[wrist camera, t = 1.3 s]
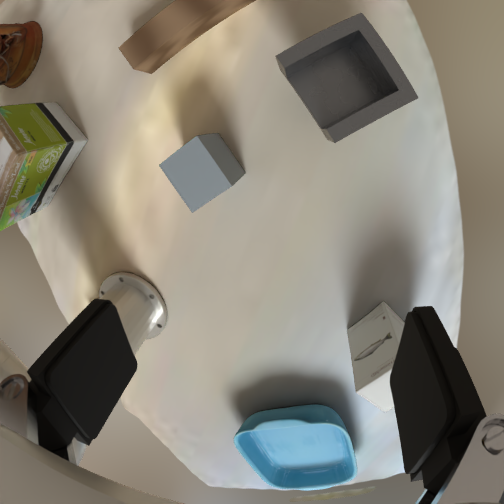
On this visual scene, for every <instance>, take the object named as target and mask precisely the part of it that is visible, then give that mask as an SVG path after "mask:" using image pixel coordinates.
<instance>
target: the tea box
mask: <svg viewBox="0 0 504 504" xmlns="http://www.w3.org/2000/svg"><path fill="white" fill-rule="evenodd" d="M87 141H88V139H87V138H86V137H85V135H84V134H83V133H82V132H81V131H80V130H79V128H78V127H77V126H76V125H75V124H74V123H73V121H72V120H71V119H70V118H69V117H68V115H67V114H66V113H65V112H64V110H63V109H62V108H61V107H60V106H59V105H58V104H57V103H56V102H54V103H32V104H20V105H9V106H1V107H0V231H1V230H3V229H5V228H6V227H8V226H10V225H12V224H14V223H16V222H18V221H20V220H21V219H24V218H26V217H28V216H29V215H31V214H33V213H35V212H37V211H40V210H42V209H43V208H45V207H47V206H48V205H49V203H50V201H51V200H52V198H53V196H54V194H55V192H56V191H57V189H58V187H59V186H60V184H61V182H62V180H63V179H64V177H65V175H66V174H67V172H68V171H69V169H70V167H71V166H72V164H73V162H74V161H75V159H76V158H77V156H78V155H79V153H80V152H81V150H82V148H83V147H84V145H85V144H86V142H87Z"/></svg>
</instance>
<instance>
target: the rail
mask: <svg viewBox="0 0 504 504" xmlns="http://www.w3.org/2000/svg"><path fill="white" fill-rule="evenodd" d="M254 1H256V0H175V1H174V2H173V3H171V4H170V5H169V6H167V7H166V8H165V9H163V10H162V11H161V12H159V13H158V14H157V15H156V16H154V17H153V18H152V19H151V20H149V21H148V22H147V23H146V24H145V25H143V26H142V27H141V28H140V29H139V30H138V31H137V32H135V33H134V34H133V35H132V36H131V37H130V38H129V39H128V40H126V41H125V42H124V43H123V44H122V45H121V46H120V47H119V50H120V51H121V52H122V54H123V55H124V57H125V58H126V59H127V61H128V62H129V64H130V65H131V66H132V68H133V69H135V70H139V71H143V72H146V73H150V74H152V73H153V72H155V71H156V70H157V69H158V68H159V67H160V66H162V65H163V64H164V63H165V62H166V61H168V60H169V59H170V58H171V57H173V56H174V55H175V54H176V53H178V52H179V51H180V50H182V49H183V48H184V47H186V46H187V45H188V44H190V43H191V42H192V41H194V40H195V39H196V38H198V37H199V36H201V35H202V34H203V33H205V32H206V31H208V30H209V29H211V28H212V27H214V26H215V25H217V24H218V23H220V22H221V21H223V20H224V19H226V18H227V17H229V16H230V15H232V14H234V13H235V12H237V11H238V10H240V9H242V8H243V7H245V6H247V5H249V4H250V3H252V2H254Z"/></svg>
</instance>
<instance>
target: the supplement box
mask: <svg viewBox="0 0 504 504" xmlns="http://www.w3.org/2000/svg"><path fill="white" fill-rule="evenodd" d="M404 324H405V323H404V322H403V320H402V319H401V318H400V317H399V316H398V315H397V314H396V313H395V312H394V311H393V310H392V309H391V308H390V307H389V306H388V305H387V304H386V303H385V302H384V301H383V302H382V303H381V304H380V305H379V306H377V307H376V308H375V309H374V310H373V311H372V312H370V313H369V314H368V315H367V316H365V317H364V318H363V319H361V320H360V321H359V322H357V323H356V324H355V325H353V326H352V327H350V328H349V329H348V330H347V334H348V340H349V346H350V353H351V359H352V366H353V374H354V382H355V389H356V393H357V394H359V395H360V396H362V397H363V398H365V399H366V400H368V401H369V402H371V403H372V404H374V405H375V406H376V407H378V408H379V409H380V410H382V411H383V412H387V411H389V410H391V409H392V408H394V403H393V398H392V393H391V388H390V374H391V371H392V368H393V364H394V361H395V358H396V354H397V351H398V347H399V343H400V340H401V336H402V332H403V328H404Z"/></svg>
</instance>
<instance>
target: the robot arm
mask: <svg viewBox="0 0 504 504" xmlns="http://www.w3.org/2000/svg"><path fill="white" fill-rule="evenodd" d="M166 322H167V310H166V307H165V304H164V301H163V300H162V298H161V296H160V295H159V293H158V292H157V291H156V289H155V288H154V287H153V286H152V285H151V284H149V283H148V282H147V281H145V280H144V279H142V278H140V277H139V276H136V275H134V274H131V273H126V272H118V273H115V274H112V275H110V276H109V277H108V278H106V279H105V280H104V282H103V283H102V284H101V287H100V290H99V299H94V300H93V301H92V302H91V303H90V304H89V305H88V306H87V307H86V308H85V309H84V310H83V311H82V312H81V313H80V314H79V315H78V316H77V317H76V318H75V319H74V320H73V321H72V322H71V323H70V324H69V326H68V327H67V328H66V329H65V330H64V331H63V332H62V333H61V334H60V335H59V336H58V337H57V338H56V339H55V341H54V342H53V343H52V344H51V345H50V346H49V347H48V348H47V349H46V350H45V351H44V353H43V354H42V355H41V356H40V357H39V358H38V359H37V360H36V361H35V363H34V364H33V365H32V366H31V367H30V368H29V369H28V368H27V367H26V365H25V364H24V363H23V362H22V361H21V360H20V359H19V358H18V357H17V356H16V354H15V353H14V352H13V351H12V350H11V349H10V348H9V347H8V345H6V343H5V342H4V341H3V340H1V339H0V504H184V503H180V502H176V501H173V500H169V499H165V498H162V497H158V496H155V495H151V494H148V493H145V492H142V491H139V490H136V489H133V488H130V487H128V486H125V485H122V484H119V483H117V482H114V481H112V480H109V479H106V478H104V477H102V476H99V475H97V474H95V473H92V472H90V471H88V470H86V469H84V468H81V467H79V466H78V465H79V463H80V461H81V459H82V457H83V455H84V452H85V449H86V446H87V445H90V443H91V441H92V440H93V439H95V438H96V437H97V436H98V434H99V432H100V431H101V429H102V427H103V426H104V424H105V422H106V420H107V419H108V417H109V415H110V414H111V412H112V410H113V408H114V407H115V405H116V403H117V402H118V400H119V398H120V397H121V395H122V393H123V392H124V390H125V388H126V387H127V385H128V383H129V382H130V380H131V378H132V377H133V375H134V373H135V372H136V370H137V361H136V358H135V354H136V353H137V351H138V350H139V348H140V347H141V345H142V344H143V342H144V341H145V339H151V338H155V337H156V336H158V335H159V334H160V333H161V332H162V331H163V329H164V327H165V325H166ZM390 388H391V393H392V398H393V403H394V408H395V413H396V418H397V424H398V430H399V436H400V442H401V448H402V455H403V463H404V470H405V473H406V474H410V476H411V482H412V481H417V480H422V479H423V483H424V488H425V491H424V492H423V493H422V495H421V496H420V498H419V499H418V501H417V502H416V503H415V504H504V415H503V414H492V415H489V416H486V413H485V411H484V408H483V406H482V403H481V401H480V398H479V396H478V394H477V391H476V389H475V386H474V384H473V382H472V379H471V377H470V375H469V373H468V370H467V368H466V366H465V364H464V362H463V360H462V358H461V356H460V353H459V352H458V350H457V349H456V348H455V347H454V346H453V344H452V342H451V340H450V338H449V336H448V334H447V332H446V330H445V328H444V326H443V324H442V323H441V321H440V319H439V317H438V315H437V313H436V311H435V310H434V308H433V307H432V306H424V307H414V308H413V310H412V312H408V313H407V316H406V320H405V324H404V328H403V332H402V336H401V340H400V343H399V347H398V351H397V354H396V358H395V361H394V364H393V368H392V371H391V374H390Z"/></svg>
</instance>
